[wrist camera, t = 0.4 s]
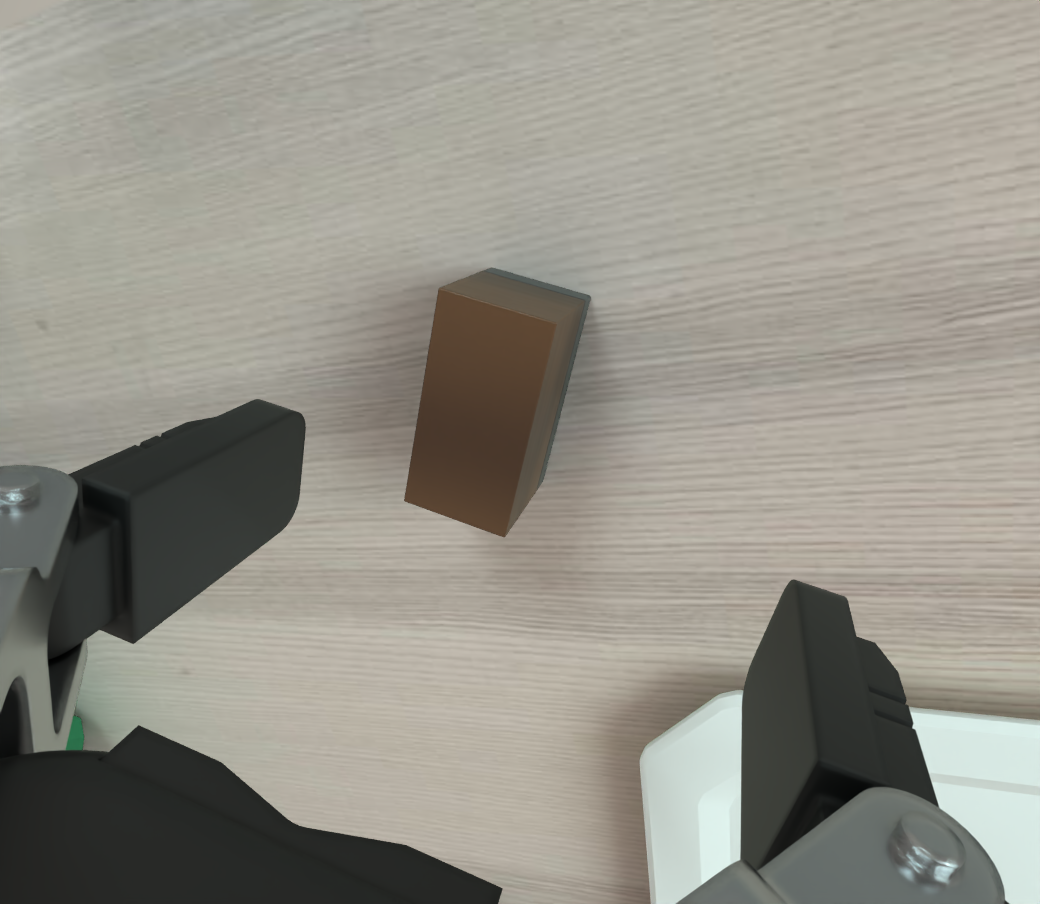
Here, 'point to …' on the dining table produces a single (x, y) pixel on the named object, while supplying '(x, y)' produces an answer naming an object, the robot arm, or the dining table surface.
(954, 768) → the plate
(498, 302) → the eraser
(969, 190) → the dining table surface
